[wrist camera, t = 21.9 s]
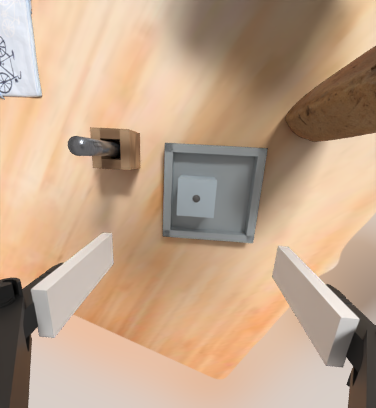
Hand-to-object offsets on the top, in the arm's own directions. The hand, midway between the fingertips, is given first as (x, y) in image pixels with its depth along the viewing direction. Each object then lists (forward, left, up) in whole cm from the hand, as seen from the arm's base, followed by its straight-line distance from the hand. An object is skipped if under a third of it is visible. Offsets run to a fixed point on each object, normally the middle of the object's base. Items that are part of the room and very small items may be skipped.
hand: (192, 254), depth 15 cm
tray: (0, +3, -27) cm, 27 cm away
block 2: (-17, +21, -27) cm, 38 cm away
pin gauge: (-8, -16, -27) cm, 32 cm away
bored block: (-8, -16, -27) cm, 32 cm away
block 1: (0, 0, -26) cm, 26 cm away
